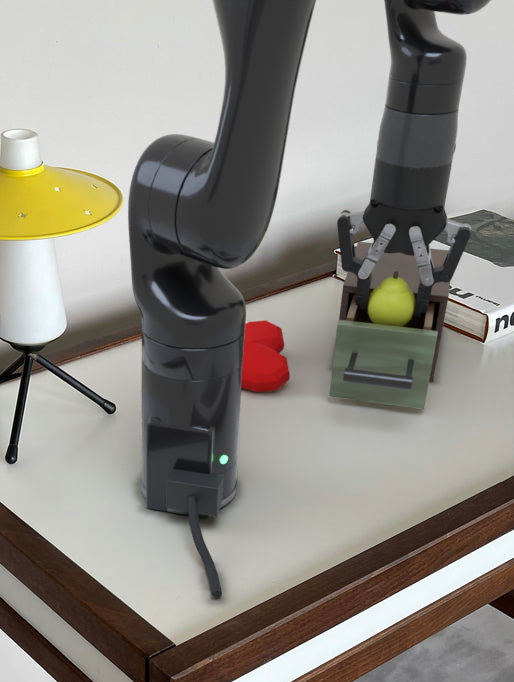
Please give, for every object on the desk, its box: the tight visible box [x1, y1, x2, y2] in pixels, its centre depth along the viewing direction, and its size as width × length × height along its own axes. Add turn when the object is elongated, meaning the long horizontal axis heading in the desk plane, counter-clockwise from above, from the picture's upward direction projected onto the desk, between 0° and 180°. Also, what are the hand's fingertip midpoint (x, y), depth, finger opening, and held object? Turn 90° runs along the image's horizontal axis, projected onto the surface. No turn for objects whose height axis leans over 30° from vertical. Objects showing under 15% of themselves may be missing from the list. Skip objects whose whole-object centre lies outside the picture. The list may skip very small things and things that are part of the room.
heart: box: [241, 319, 291, 393], centre depth 119 cm, size 12×4×10 cm
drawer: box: [328, 293, 438, 410], centre depth 113 cm, size 19×10×9 cm, turn 163°
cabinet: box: [338, 241, 451, 383], centre depth 122 cm, size 15×12×11 cm
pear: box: [367, 271, 416, 327], centre depth 110 cm, size 5×5×6 cm
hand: (390, 311), depth 111 cm, fingers closed on pear, 5 cm apart
